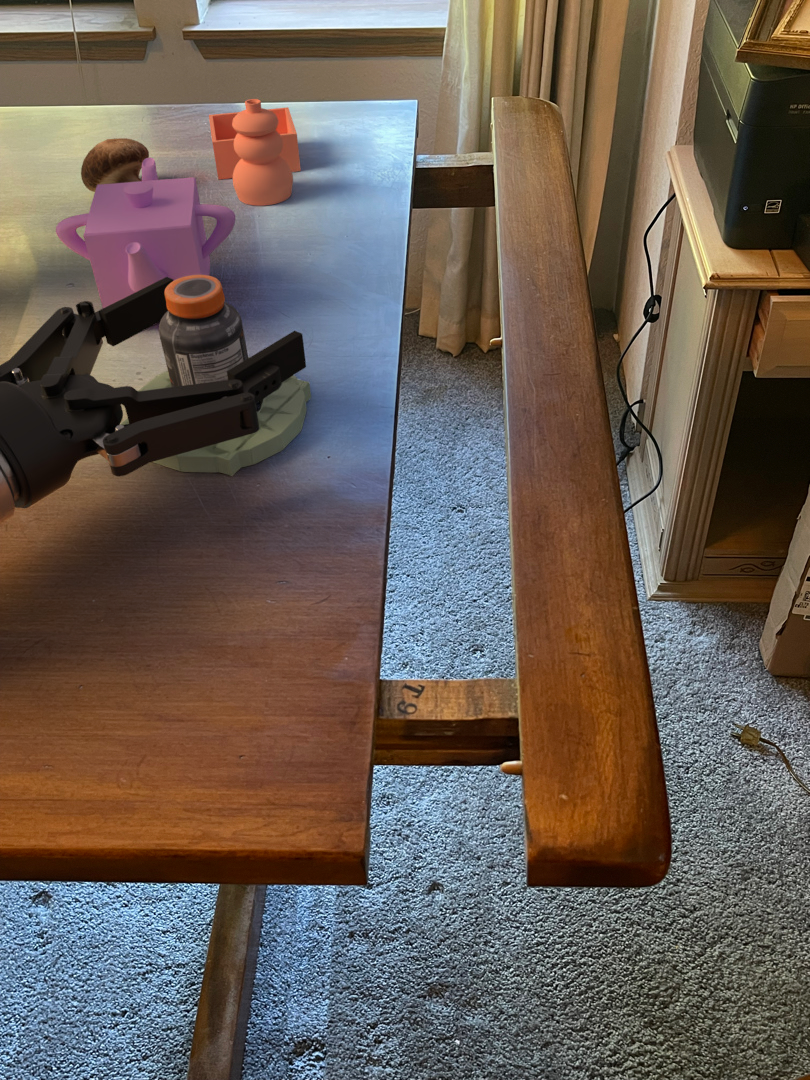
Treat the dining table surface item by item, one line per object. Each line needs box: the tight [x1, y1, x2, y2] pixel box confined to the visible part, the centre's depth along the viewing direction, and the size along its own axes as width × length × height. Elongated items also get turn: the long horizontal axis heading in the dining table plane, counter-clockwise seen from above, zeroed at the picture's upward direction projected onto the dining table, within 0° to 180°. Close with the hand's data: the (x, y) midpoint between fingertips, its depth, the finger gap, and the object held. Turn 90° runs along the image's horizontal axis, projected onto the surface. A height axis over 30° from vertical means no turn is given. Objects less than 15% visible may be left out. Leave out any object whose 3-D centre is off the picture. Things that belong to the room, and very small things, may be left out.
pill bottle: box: [158, 275, 258, 410], centre depth 70 cm, size 6×6×11 cm
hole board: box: [120, 356, 312, 477], centre depth 73 cm, size 13×13×2 cm
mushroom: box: [80, 137, 150, 193], centre depth 105 cm, size 8×8×6 cm
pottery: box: [208, 98, 301, 207], centre depth 106 cm, size 18×10×10 cm, turn 11°
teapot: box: [55, 157, 236, 309], centre depth 84 cm, size 15×13×11 cm
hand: (234, 320), depth 70 cm, fingers open, 13 cm apart
